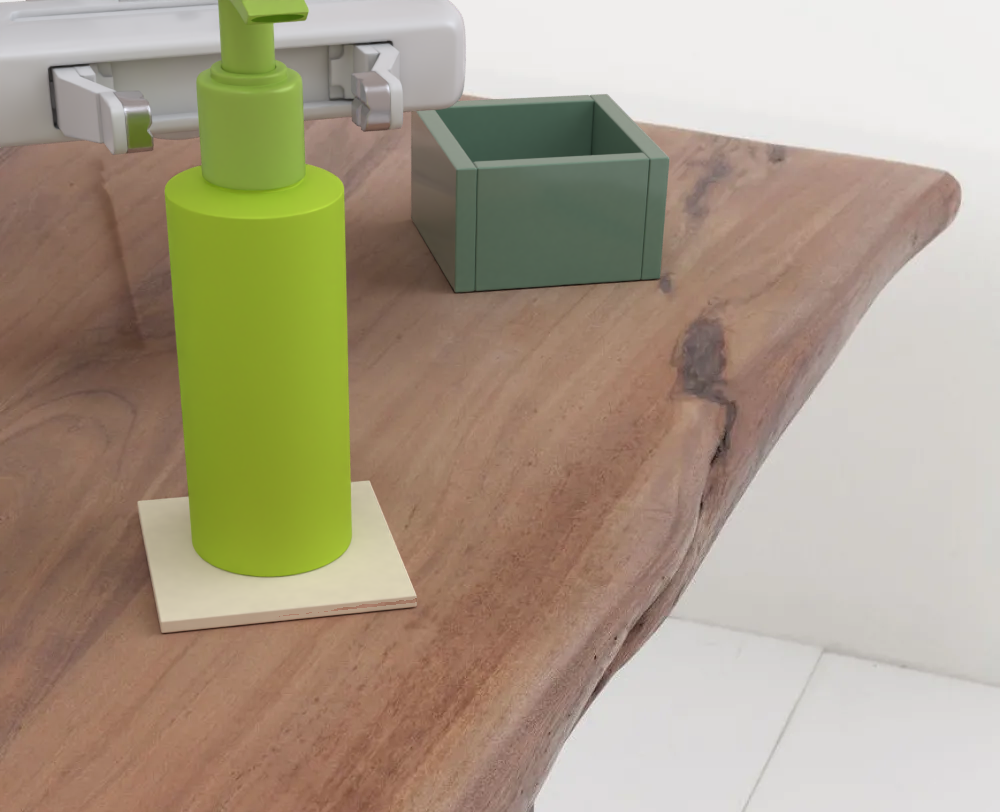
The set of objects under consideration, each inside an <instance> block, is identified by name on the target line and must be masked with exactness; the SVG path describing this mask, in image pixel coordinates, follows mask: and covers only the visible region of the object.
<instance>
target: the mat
mask: <svg viewBox="0 0 1000 812" xmlns="http://www.w3.org/2000/svg"><path fill="white" fill-rule="evenodd" d="M372 485H373V484H372V483H371V481H370V480H360V481H359V480H357V481H351V514H352V539H351V543H350V545H349V547H348V548H347V550H346V551H345V552H344V553H343V554H342V555H341V556H340V557H339V558H337V559H336V560H334V561H333V562H331V563H329V564H327V565H325V566H323V567H320V568H318V569H315V570H312V571H308V572H304V573H300V574H295V575H288V576H276V577H261V576H249V575H242V574H237V573H232V572H229V571H226V570H223V569H220V568H218V567H215V566H213V565H211V564H210V563H208V562H206V561H205V560H204V559H202V558H201V557H200V556H199V555H198V554H197V552H196V551H195V549H194V547H193V544H192V536H191V523H190V510H189V497H188V496H180V497H179V496H178V497H168V498H167V497H166V498H156V499H146V500H138V501H137V502H136V505H137V513H138V514H137V515H138V519H139V524H140V528H141V534H142V535H141V536H142V540H143V544H144V551H145V556H146V561H147V565H148V570H149V571H148V572H149V576H150V581H151V586H152V591H153V597H154V603H155V608H156V612H157V618H158V622H159V628H160V632H161V633H162V634H168V633H177V632H185V631H186V632H187V631H197V630H205V629H215V628H224V627H226V628H227V627H234V626H244V625H252V624H255V625H256V624H263V623H273V622H283V621H292V620H302V619H313V618H321V617H331V616H341V615H349V614H359V613H369V612H378V611H389V610H399V609H408V608H416V607H417V606H418V601H417V602H415V603H406V604H396V605H386V606H377V607H367V608H357V609H348V610H338V611H331V610H334V609H337V608H343V607H356V606H359V605H362V604H378V603H381V602H396V601H399V600H404V601H406V600H413V599H415V598H417V599H418V597H417V596H418V595H417V593H416V591H415V590H416V589H415V588H414V586H413V583H412V581H411V579H410V578H411V577H410V576H409V573H408V571H407V569H406V566H405V563H404V561H403V559H402V556H401V554H400V552H399V549H398V546H397V544H396V541H395V539H394V537H393V535H392V532H391V530H390V527H389V525H388V522H387V519H386V517H385V515H384V513H383V510H382V507H381V505H380V503H379V500H378V498H377V495H376V493H375V491H374V488H373V486H372ZM324 611H328V612H324ZM309 612H312V613H309ZM318 612H319V613H318ZM306 613H309V614H306ZM289 614H299V615H290V616H283V615H289ZM279 616H280V617H279Z"/></svg>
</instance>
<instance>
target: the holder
mask: <svg viewBox="0 0 1000 812" xmlns="http://www.w3.org/2000/svg"><path fill="white" fill-rule="evenodd" d="M410 137H411V138H410V171H411V172H410V196H411V197H410V206H411V207H410V218H411V220H412V222H413V224H414V225H415V228H416V229H417V230H418V232H419V234H420V236H421V237H422V239H423V241H424V243H425V244H426V245H427V247H428V249H429V251H430V252H431V254H432V256H433V258H434V259H435V261H436V263H437V264H438V266H439V269H441V271H442V273H443V274H444V276H445V278H446V279H447V281H448V283H449V285H450V286H451V288H452V290H453V291H454V293H467V292H469V293H470V292H483V291H498V290H499V291H500V290H514V289H526V288H527V289H529V288H541V287H556V286H572V285H586V284H601V283H613V282H614V283H615V282H629V281H641V280H642V281H646V280H659V279H661V274H662V273H661V271H662V259H663V249H664V248H663V247H664V235H665V223H666V211H667V210H666V209H667V198H668V197H667V196H668V182H669V171H670V157H669V156H668V155H667V153H666V152H665V151H664V150H663V149H661V147H660V146H659V145H658V144H657V143H656V142H655V141H654V140H653V139H652V138H651V137H650V136H649V135H648V134H647V133H646V132H645V131H644V130H643V129H642V128H641V127H640V126H639V125H638V123H636V122H635V121H634V120H633V119H632V117H631V116H629V114H628V113H626V112H625V110H623V108H622V107H620V105H619V104H618V103H617V102H616V101H615V99H613V98H612V97H611V96H610V95H609V94H607V93H601V94H599V93H598V94H579V95H578V94H577V95H558V96H557V95H555V96H537V97H536V96H535V97H532V96H531V97H514V98H513V97H512V98H492V99H472V100H471V99H469V100H468V99H467V100H458V101H457V102H456V103H455V104H454V105H453V106H451V107H449V108H446V109H440V110H424V111H413V112H410Z"/></svg>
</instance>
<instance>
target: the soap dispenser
mask: <svg viewBox="0 0 1000 812" xmlns="http://www.w3.org/2000/svg"><path fill="white" fill-rule="evenodd" d="M218 10H219V27H220V44H221V60H220V61H217V62H215V63H214V64H212V66H211V68H209V69H206V70H204V71H202V72H201V73H200V74H199V75H198V76H197V80H196V91H197V106H198V121H199V136H200V137H199V148H200V149H199V150H200V151H199V152H200V162H201V163H200V164H201V165H196V166H193V167H190V168H188V169H185V170H183V171H181V172H178V173H177V174H175V175H174V176H173V177H171V178H170V179H169V180H168V181H167V182H166V184H165V186H164V202H165V203H164V204H165V215H166V228H167V229H166V230H167V241H168V242H167V243H168V253H169V254H168V255H169V267H170V279H171V291H172V294H171V295H172V304H173V318H174V331H175V344H176V356H177V367H178V368H177V370H178V382H179V395H180V406H181V418H182V432H183V433H182V435H183V445H184V446H183V447H184V456H185V457H184V458H185V470H186V483H187V485H186V486H187V497H189V510H190V523H191V536H192V544H193V547H194V549H195V551H196V552H197V554H198V555H199V556H200V557H201V558H202V559H204V560H205V561H206V562H208V563H210V564H211V565H213V566H215V567H218V568H220V569H223V570H226V571H229V572H232V573H237V574H242V575H249V576H261V577H276V576H288V575H295V574H300V573H304V572H308V571H312V570H315V569H318V568H320V567H323V566H325V565H327V564H329V563H331V562H333V561H334V560H336V559H337V558H339V557H340V556H341V555H342V554H343V553H344V552H345V551H346V550H347V548H348V547H349V545H350V543H351V539H352V514H351V482H352V478H351V475H352V474H351V473H352V472H351V471H352V470H351V433H350V431H351V430H350V427H351V426H350V388H349V387H350V385H349V384H350V383H349V382H350V380H349V345H348V344H349V343H348V341H349V340H348V339H349V337H348V336H349V335H348V296H347V295H348V294H347V252H346V250H347V249H346V247H347V246H346V206H345V205H346V204H345V202H346V201H345V185H344V183H343V181H342V180H341V178H339V177H338V176H337V175H335V174H334V173H332V172H330V171H328V170H327V169H325V168H321V167H318V166H315V165H312V164H310V163H309V164H308V163H306V144H305V143H306V142H305V121H304V110H303V84H302V78H301V76H300V74H299V73H298V72H296V71H295V70H293V69H290V68H287V67H286V65H285V64H284V63H282V62H280V61H278V60H275V45H274V23H283V22H296V21H305V20H306V19H307V16H308V13H309V9H308V7H307V5H306V3H305V1H304V0H218Z"/></svg>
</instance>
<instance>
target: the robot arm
mask: <svg viewBox="0 0 1000 812" xmlns="http://www.w3.org/2000/svg"><path fill="white" fill-rule="evenodd" d="M304 1H305V3H306V5H307V7H308V9H309V13H308V16H307V19H306V20H305V21H296V22H283V23H274V45H275V60H278V61H280V62H282V63H284V64H285V65H286V67H287V68H290V69H293V70H295V71H296V72H298V73H299V74H300V76H301V78H302V84H303V110H304V122H310V121H320V120H321V121H322V120H332V119H344V118H351V122H352V123H353V124H354V125H355V126H356V127H360V130H361V131H362V132H363V133H365V132H381V131H390V130H400V129H402V127H403V124H404V113H411V112H413V111H424V110H440V109H446V108H449V107H451V106H453V105H454V104H455V103H456V102H457V101H460V99H462V96H463V93H464V89H465V80H466V66H467V41H466V25H465V21H464V17H463V15H462V13H461V11H460V9H458V7H457V6H456V5H455V4H454V3H453V2H451V1H450V0H304ZM220 60H221V44H220V27H219V10H218V0H20V1H19V0H17V1H3V2H0V149H7V148H15V147H28V146H37V145H38V146H39V145H49V144H60V143H61V144H62V143H73V142H83V141H87V142H91V143H96V144H100V145H103V144H104V145H105V147H106V149H108V151H109V152H110V154H111V155H112V156H118V155H126V154H135V153H136V154H137V153H144V152H152V151H154V149H155V148H154V146H155V144H154V141H155V140H154V139H157V140H166V141H170V140H171V141H185V140H191V139H197V138H200V136H199V121H198V106H197V91H196V80H197V76H198V75H199V74H200V73H201V72H202V71H204V70H206V69H209V68H211V66H212V64H214V63H215V62H217V61H220Z"/></svg>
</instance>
